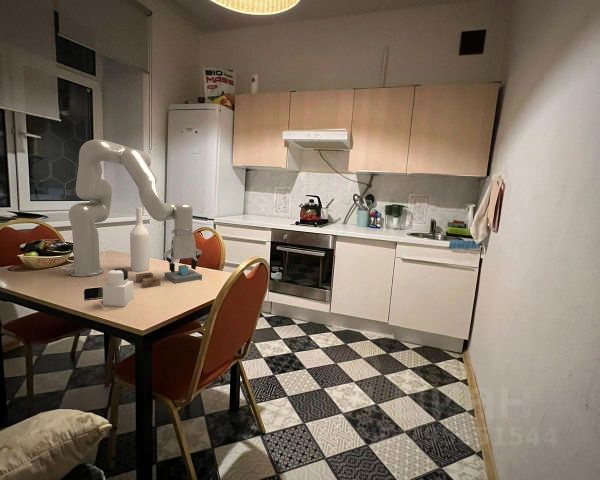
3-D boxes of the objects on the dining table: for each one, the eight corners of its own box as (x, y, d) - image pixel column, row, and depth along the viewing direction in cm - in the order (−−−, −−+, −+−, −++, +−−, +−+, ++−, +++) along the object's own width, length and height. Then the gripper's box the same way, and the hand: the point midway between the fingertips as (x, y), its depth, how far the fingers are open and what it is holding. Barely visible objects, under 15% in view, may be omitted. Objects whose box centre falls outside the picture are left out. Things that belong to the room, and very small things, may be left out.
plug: (181, 280, 140) (181, 267, 139) (178, 278, 143) (178, 265, 142) (188, 279, 142) (188, 266, 141) (185, 277, 145) (185, 264, 144)
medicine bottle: (113, 299, 113) (112, 266, 112) (133, 299, 114) (133, 267, 112) (102, 306, 106) (101, 271, 105) (124, 307, 107) (123, 272, 105)
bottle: (131, 272, 148) (129, 208, 144) (130, 267, 155) (129, 206, 151) (150, 270, 152) (149, 208, 148) (148, 266, 159) (148, 207, 155)
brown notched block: (145, 289, 126) (144, 280, 125) (136, 282, 134) (135, 274, 133) (160, 286, 130) (160, 278, 129) (150, 280, 138) (150, 272, 137)
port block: (175, 284, 134) (175, 278, 133) (164, 277, 142) (164, 272, 142) (201, 280, 142) (201, 274, 142) (190, 274, 151) (190, 269, 150)
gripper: (166, 234, 130) (166, 274, 133) (205, 232, 142) (205, 269, 145) (159, 232, 136) (160, 271, 138) (197, 230, 148) (197, 266, 150)
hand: (183, 270), depth 142 cm, fingers open, 9 cm apart
